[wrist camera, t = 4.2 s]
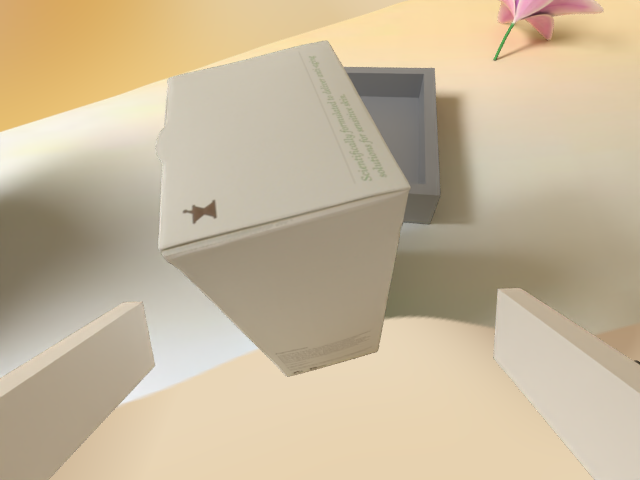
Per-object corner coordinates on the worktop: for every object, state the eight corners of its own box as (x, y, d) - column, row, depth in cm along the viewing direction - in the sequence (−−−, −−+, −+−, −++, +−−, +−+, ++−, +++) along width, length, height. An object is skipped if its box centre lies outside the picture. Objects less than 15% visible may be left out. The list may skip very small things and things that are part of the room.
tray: (218, 206, 28) (203, 178, 25) (264, 96, 36) (256, 66, 33) (429, 224, 25) (440, 195, 22) (427, 100, 34) (434, 68, 31)
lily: (578, 79, 35) (642, -31, 30) (505, 58, 31) (566, -77, 26) (496, 64, 44) (534, -23, 39) (430, 45, 40) (464, -56, 35)
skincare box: (379, 354, 20) (433, 198, 7) (278, 381, 20) (142, 269, 7) (343, 246, 25) (336, 29, 12) (260, 267, 24) (157, 66, 11)
